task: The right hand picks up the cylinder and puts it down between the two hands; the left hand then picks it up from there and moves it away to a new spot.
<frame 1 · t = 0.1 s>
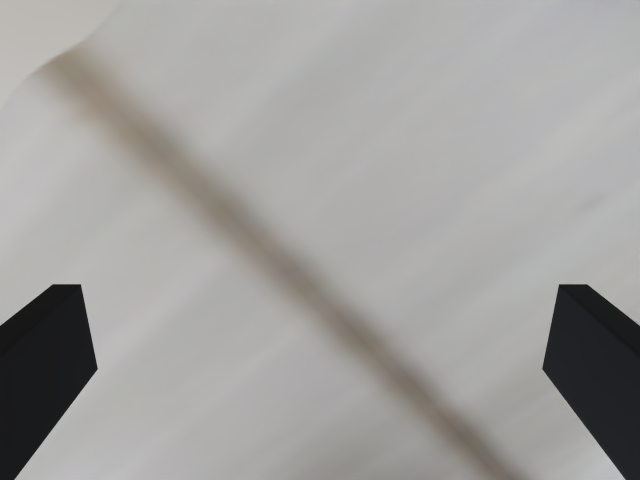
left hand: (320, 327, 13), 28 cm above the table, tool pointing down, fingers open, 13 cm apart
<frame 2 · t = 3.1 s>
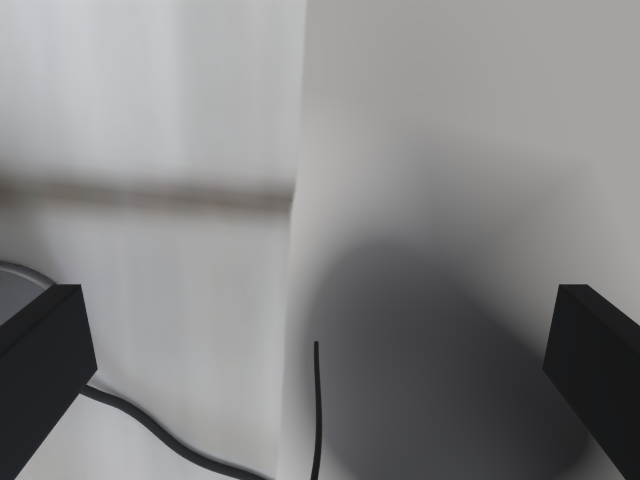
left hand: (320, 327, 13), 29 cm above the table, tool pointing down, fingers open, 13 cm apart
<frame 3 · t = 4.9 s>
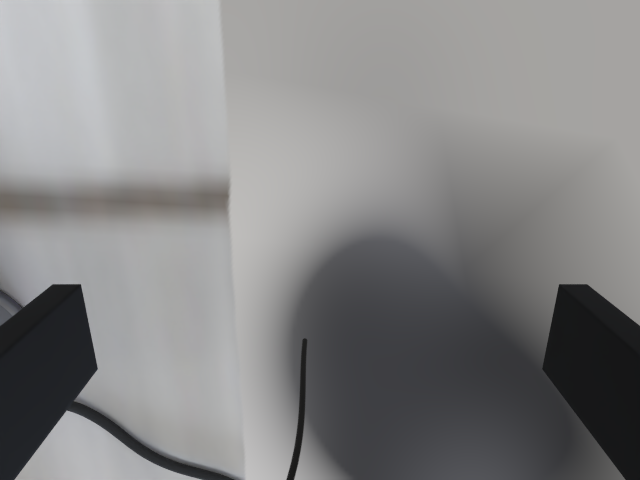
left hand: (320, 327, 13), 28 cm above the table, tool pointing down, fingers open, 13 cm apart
when the right hand's fingers open (4 cm above the table, at t = 7.1 s): cylinder drops 2 cm, on the table.
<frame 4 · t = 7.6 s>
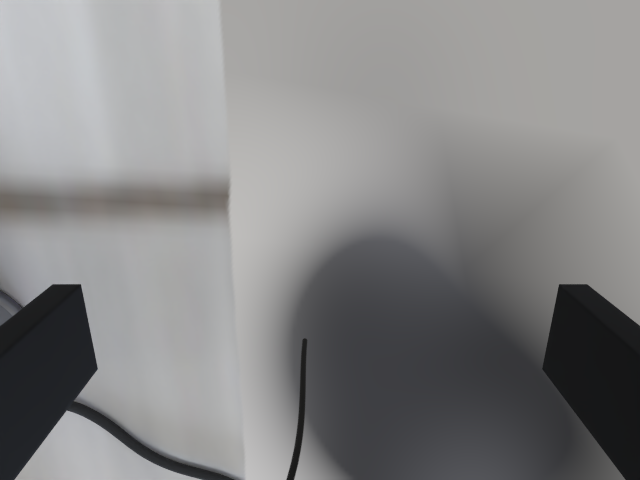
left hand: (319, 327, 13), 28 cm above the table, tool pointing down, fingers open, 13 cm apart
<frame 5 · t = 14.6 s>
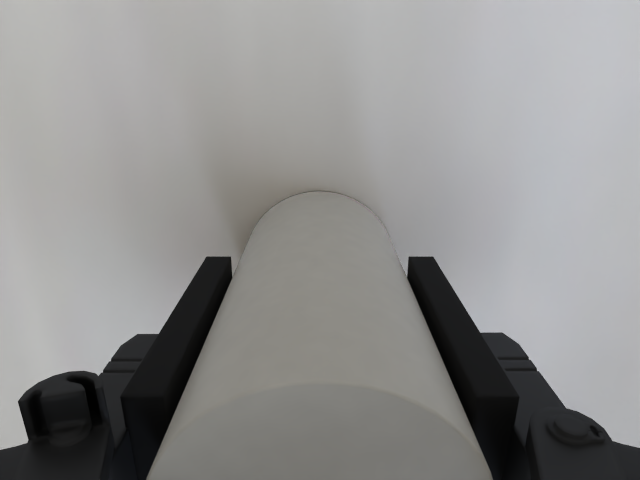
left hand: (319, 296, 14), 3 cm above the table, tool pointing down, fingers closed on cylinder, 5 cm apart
cylinder: (319, 262, 17), on the table, touching left hand
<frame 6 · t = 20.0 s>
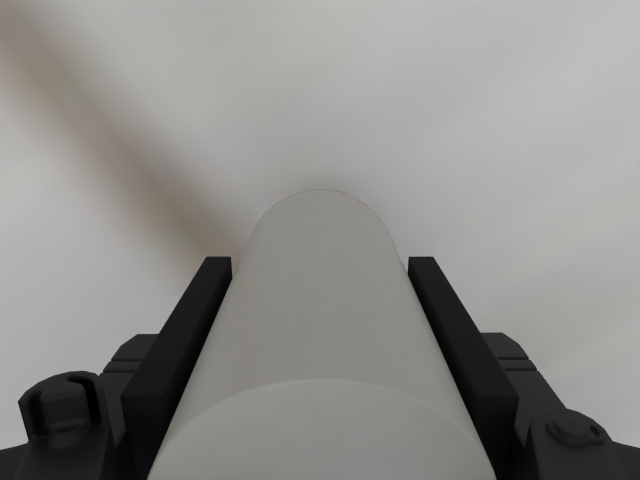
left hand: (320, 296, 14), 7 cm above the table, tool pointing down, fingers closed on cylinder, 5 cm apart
cylinder: (320, 261, 17), point 5 cm above the table, touching left hand
when the left hand's fingers open (4 cm above the table, at t = 25.3 s): cylinder drops 2 cm, on the table.
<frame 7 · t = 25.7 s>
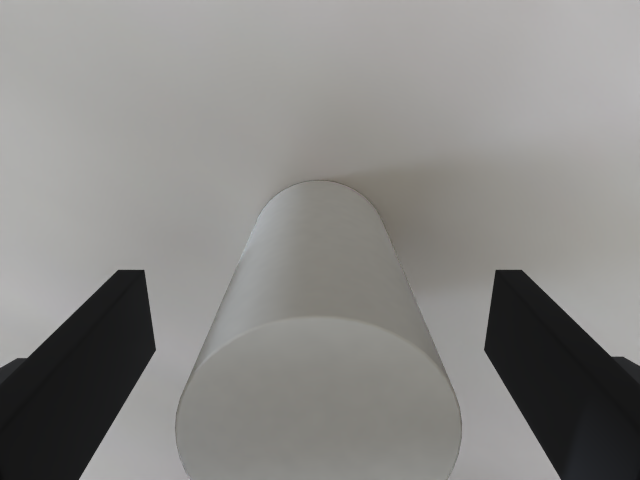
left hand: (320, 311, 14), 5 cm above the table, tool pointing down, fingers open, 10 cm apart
cylinder: (319, 246, 19), on the table
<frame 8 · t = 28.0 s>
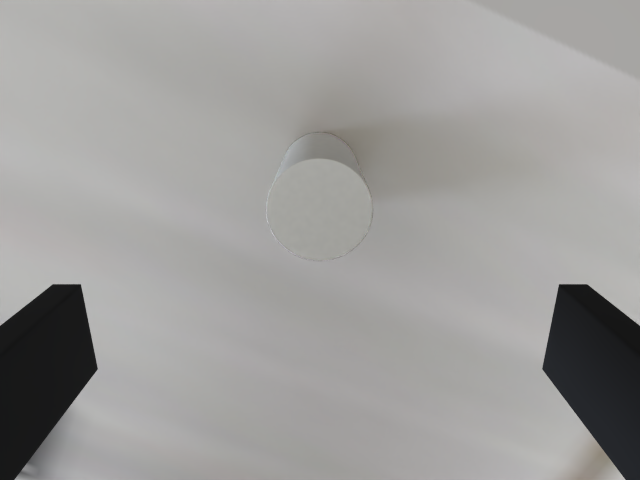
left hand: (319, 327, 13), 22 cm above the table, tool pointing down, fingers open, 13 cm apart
cylinder: (319, 170, 33), on the table
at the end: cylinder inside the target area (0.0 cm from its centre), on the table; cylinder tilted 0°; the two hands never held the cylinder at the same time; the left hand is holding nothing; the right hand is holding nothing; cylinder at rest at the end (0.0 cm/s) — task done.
